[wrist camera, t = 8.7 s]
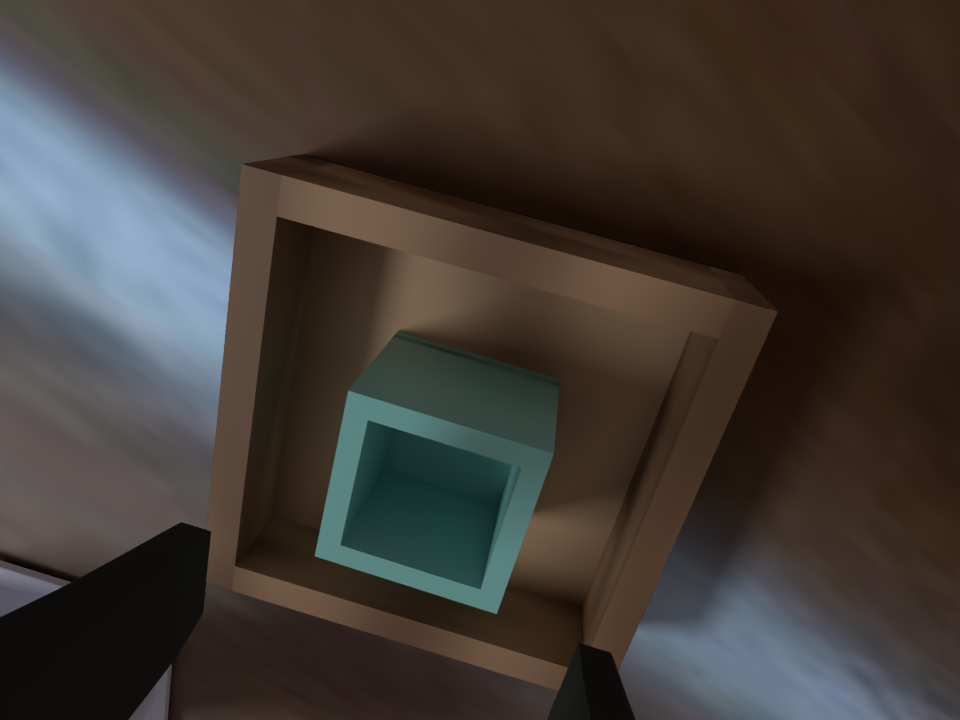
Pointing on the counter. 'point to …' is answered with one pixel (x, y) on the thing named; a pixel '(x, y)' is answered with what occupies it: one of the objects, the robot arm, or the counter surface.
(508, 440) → the small crate
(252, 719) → the counter surface
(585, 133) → the counter surface
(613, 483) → the big crate
